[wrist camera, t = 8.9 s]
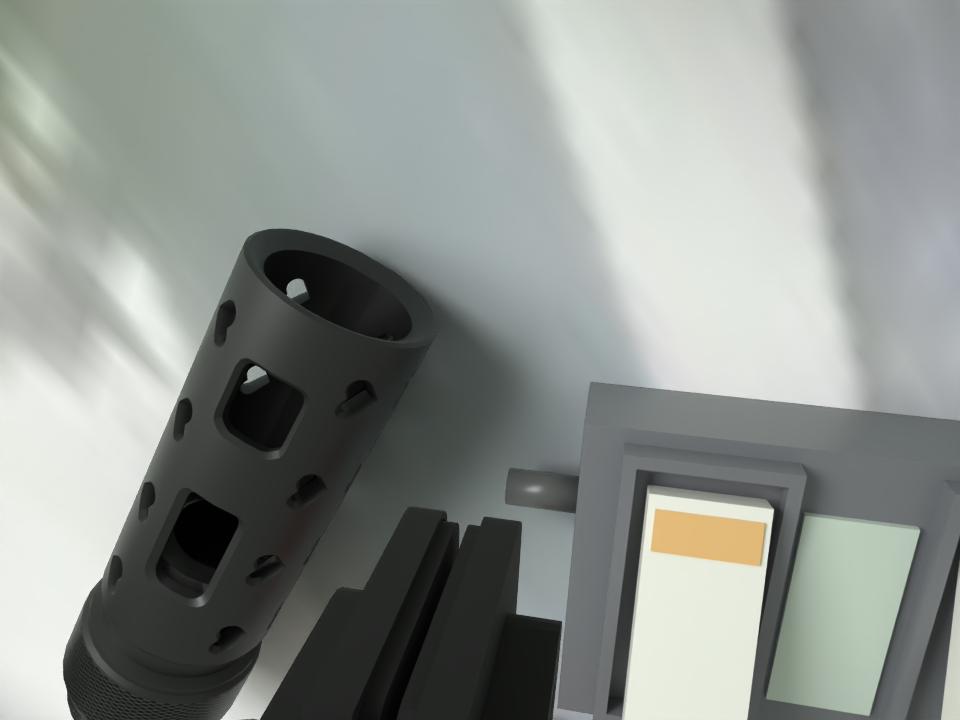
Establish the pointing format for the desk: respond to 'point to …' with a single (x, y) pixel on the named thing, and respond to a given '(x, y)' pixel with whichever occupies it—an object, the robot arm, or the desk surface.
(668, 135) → the desk surface
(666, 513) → the plate
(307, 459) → the muzzle brake
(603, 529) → the panel
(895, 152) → the desk surface
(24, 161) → the desk surface
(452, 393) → the desk surface
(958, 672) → the rocker
